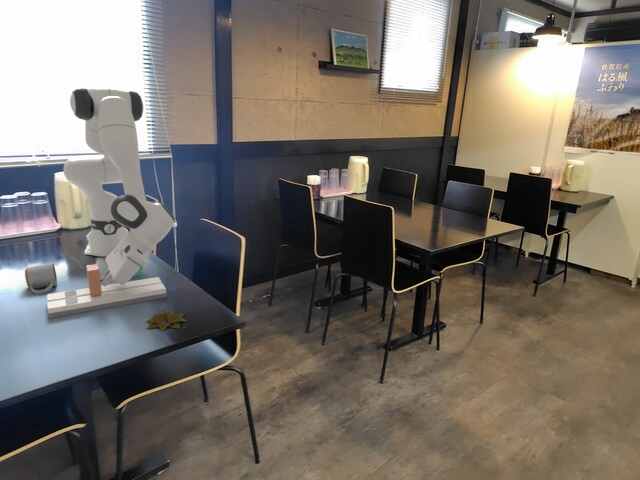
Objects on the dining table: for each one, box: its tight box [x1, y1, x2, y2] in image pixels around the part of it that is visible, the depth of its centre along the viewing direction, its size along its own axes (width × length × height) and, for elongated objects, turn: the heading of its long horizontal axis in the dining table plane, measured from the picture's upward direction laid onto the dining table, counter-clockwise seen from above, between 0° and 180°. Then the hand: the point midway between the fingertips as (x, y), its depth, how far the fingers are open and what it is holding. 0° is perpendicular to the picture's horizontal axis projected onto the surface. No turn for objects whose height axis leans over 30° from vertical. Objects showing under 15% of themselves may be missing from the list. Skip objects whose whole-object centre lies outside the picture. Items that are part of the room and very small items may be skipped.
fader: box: [85, 263, 102, 296], centre depth 130 cm, size 5×3×10 cm, turn 31°
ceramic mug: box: [24, 262, 58, 295], centre depth 139 cm, size 11×8×8 cm
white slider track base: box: [46, 276, 167, 319], centre depth 133 cm, size 11×32×3 cm, turn 121°
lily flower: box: [145, 306, 188, 332], centre depth 122 cm, size 12×12×5 cm
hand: (102, 283), depth 131 cm, fingers closed, pressing on fader
